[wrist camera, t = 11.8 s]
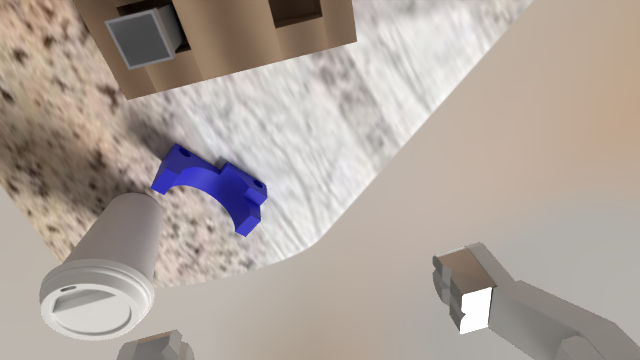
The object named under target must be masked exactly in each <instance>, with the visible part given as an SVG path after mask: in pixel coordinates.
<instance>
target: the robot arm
mask: <svg viewBox="0 0 640 360" xmlns="http://www.w3.org/2000/svg"><path fill="white" fill-rule="evenodd" d="M433 265H434V267H435V268H436V269H435V271H434V272H433V281H434V285H435V289H436V291H437V293H438V295H439V297H440V299H441V301H442V302H443V303H445V304H447V305H448V306H450V316H451V318H452V319H453V321H454V323H455V324H456V326H457V328H458V329H459V331H460V333H464V332H468V331H472V330H476V329H480V328H483V327H486V326H488V328H489V329H491V330H492V331H494V332H495V333H496V334H498V335H499V336H501V337H502V338H504V339H505V340H507V341H508V342H510V343H511V344H512V345H514V346H515V347H517V348H518V349H520V350H521V351H523V352H524V353H526V354H527V355H529V356H530V357H531V358H533V359H534V360H640V347H639V346H638V345H637V344H636V343H635V342H634V341H633V340H632V339H631V338H630V337H629V336H627V334H626V333H624V331H623V330H622V329H620V328H619V327H618V326H617V325H616V324H615V323H614V322H612V321H609V320H607V319H605V318H603V317H601V316H599V315H596V314H594V313H592V312H590V311H588V310H585V309H583V308H581V307H579V306H577V305H574V304H572V303H570V302H568V301H566V300H563V299H561V298H559V297H557V296H555V295H552V294H550V293H548V292H546V291H543V290H541V289H539V288H537V287H535V286H532V285H530V284H528V283H526V282H524V281H521V280H519V281H515V280H514V279H513V278H512V276H511V275H510V274H509V273H508V272H507V271H506V269H505V268H504V267H503V266H502V265H501V264H500V263H499V261H498V260H497V259H496V258H495V257H494V256H493V254H492V253H491V252H490V251H489V250H488V249H487V248H486V246H485V245H484V244H483V243H481V242H478V243H474V244H471V245H468V246H464V247H460V248H456V249H453V250H450V251H446V252H443V253H439V254H436V255H434V256H433ZM181 339H182V335H181V334H180V333H179V331H178V330H173V331H169V332H165V333H161V334H157V335H154V336H150V337H146V338H142V339H138V340H135V341H131V342H127V343H125V344H124V345H123V346H122V348H121V349H120V351H119V354H118V357H117V360H194V354H193V351H192V348H191V347H190V345H189V344H188V343H185V342H182V341H181Z"/></svg>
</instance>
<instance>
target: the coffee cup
mask: <svg viewBox="0 0 640 360" xmlns="http://www.w3.org/2000/svg"><path fill="white" fill-rule="evenodd" d="M163 219H164V212H163V209H162V207H161V206H160V204H159V203H158V202H157V201H156V200H154V199H153V198H151V197H149V196H147V195H144V194H141V193H124V194H121V195H118V196H117V197H115V198H114V199H113V200H112V201H111V202H110V203H109V204H108V206H107V207H106V208H105V210H104V211H103V212H102V213H101V215H100V216H99V217H98V219H97V220H96V221H95V223H94V224H93V225H92V226H91V228H90V229H89V230H88V232H87V233H86V234H85V235H84V237H83V238H82V239H81V241H80V242H79V243H78V245H77V246H76V247H75V248H74V250H73V251H72V252H71V253H70V255H69V256H68V257H67V259H66V260H65V261H64V262H63V264H62V265H60V266H58V267H56V268H54V269H53V270H51V271H50V272H49V273H48V274H47V275H46V276H45V278H44V279H43V282H42V284H41V288H40V304H41V308H40V310H41V315H42V318H43V320H44V321H45V322H46V323H47V325H49V326H50V327H51V328H52V329H54V330H55V331H57V332H59V333H61V334H63V335H66V336H69V337H72V338H76V339H82V340H106V339H112V338H115V337H118V336H121V335H123V334H125V333H127V332H129V331H130V330H131V329H133V328H134V327H135V326H136V324H137V323H138V322H140V321H141V320H142V318H143V317H145V315H146V314H147V313H148V311H149V310H150V308H151V307H152V305H153V302H154V290H153V287H152V281H153V275H154V269H155V263H156V258H157V252H158V247H159V241H160V236H161V230H162V225H163Z"/></svg>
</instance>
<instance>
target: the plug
mask: <svg viewBox="0 0 640 360" xmlns="http://www.w3.org/2000/svg"><path fill="white" fill-rule="evenodd" d="M104 22H105V24H106V26H107V28H108V30H109V32H110V34H111V36H112V38H113V40H114V42H115V44H116V46H117V48H118V50H119V52H120V54H121V56H122V58H123V59H124V61H125V63H126V65H127V67H128V69H129V70H131V69H135V68H139V67H143V66H147V65H151V64H155V63H159V62H163V61H167V60H171V59H174V58H175V56H176V53H175V50H176V49H177V48H178V46H179V45H180V44H181V43H182V42H183V40H184V39H185V38H186V34H185V32H184V29H183V27H182V24H181V22H180V19H179V17H178V14H177V12H176V9H175V6H174V4H173V2H171V3H167V4H163V5H159V6H155V7H150V8H146V9H142V10H140V11H137V12H135V13H133V14H129V15H125V16H121V17H116V18H112V19H109V20H106V21H104Z"/></svg>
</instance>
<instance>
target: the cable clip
mask: <svg viewBox="0 0 640 360" xmlns="http://www.w3.org/2000/svg"><path fill="white" fill-rule="evenodd" d="M177 185H187V186H192V187H195V188H198V189H200V190H202V191H204V192H206V193H208V194H209V195H211V196H212V197H214V198H215V199H216V200H218V201H219V202H220V203H221V204H222V205H223V206H224V207H225V209H226V210H227V211H228V213H229V214H230V216H231V218H232V220H233V222H234V225H235V232H237V233H239V234H241V235H243V236H245V237H246V236H247V235H248V234H249V233H250V232H251V231H252V230H253V228H254V227H255V226H256V225H257V224H258V223H259V222H260V221H261V215H260V205H261V204H262V203H263V202H264V201H265V200H266V199H267V188H266V185H264V184H263V183H261V182H260V181H258V180H256V179H255V178H253V177H251V176H250V175H248V174H247V173H245V172H243V171H242V170H240V169H239V168H237V167H235V166H234V165H232V164H231V163H229V162H227V163H226V164H225V165H224V166H223V167H222V169H221V170H219V169H218V168H216V167H214V166H213V165H211V164H209V163H208V162H206V161H204V160H203V159H201V158H200V157H198V156H196V155H195V154H193V153H191V152H190V151H188V150H186V149H185V148H183V147H181V146H180V145H178V144H175V145H174V146H173V148H172V149H171V150H170V151H169V153H168V154H167V155H166V157H165V158H164V159H163V161H162V162H161V165H160V167H159V169H158V172H157V174H156V177H155V179H154V181H153V184H152V186H151V189H153V190H155V191H157V192H159V193H161V194H163V195H164V194H165V193H166V192H167V191H168V189H169V188H171V187H173V186H177Z"/></svg>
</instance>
